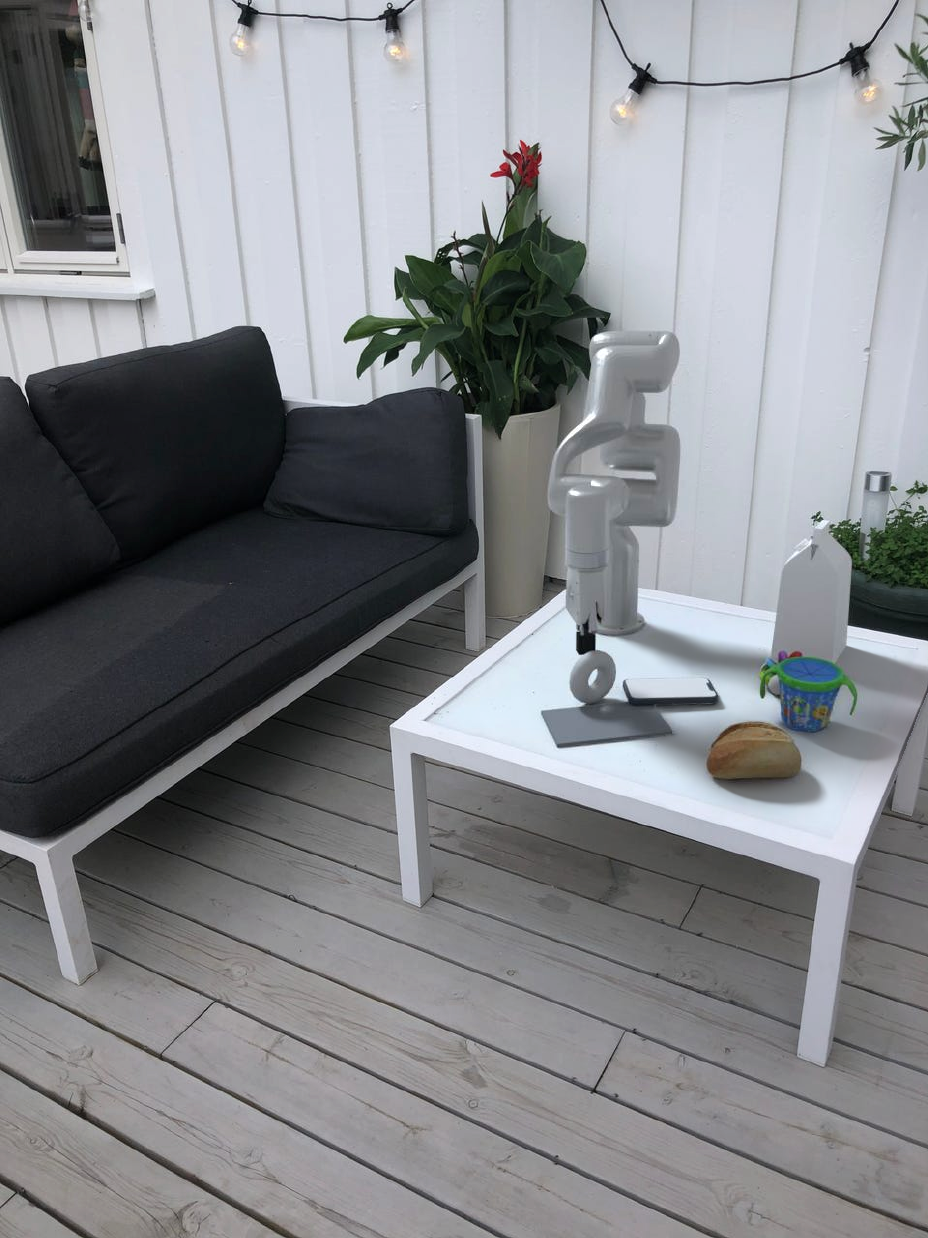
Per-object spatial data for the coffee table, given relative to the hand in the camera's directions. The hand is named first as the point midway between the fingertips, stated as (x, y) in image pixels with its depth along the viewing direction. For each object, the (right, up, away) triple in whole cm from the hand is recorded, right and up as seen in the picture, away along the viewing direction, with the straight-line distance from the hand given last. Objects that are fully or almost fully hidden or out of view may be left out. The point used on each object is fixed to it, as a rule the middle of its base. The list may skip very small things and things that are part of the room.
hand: (585, 652), depth 183 cm
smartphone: (+15, -8, -1) cm, 17 cm away
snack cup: (+36, -12, -11) cm, 40 cm away
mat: (+2, -12, -9) cm, 15 cm away
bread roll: (+23, -18, -25) cm, 39 cm away
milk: (+46, 0, +15) cm, 48 cm away
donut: (+1, -9, -1) cm, 9 cm away
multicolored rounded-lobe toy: (+37, -7, +2) cm, 37 cm away
